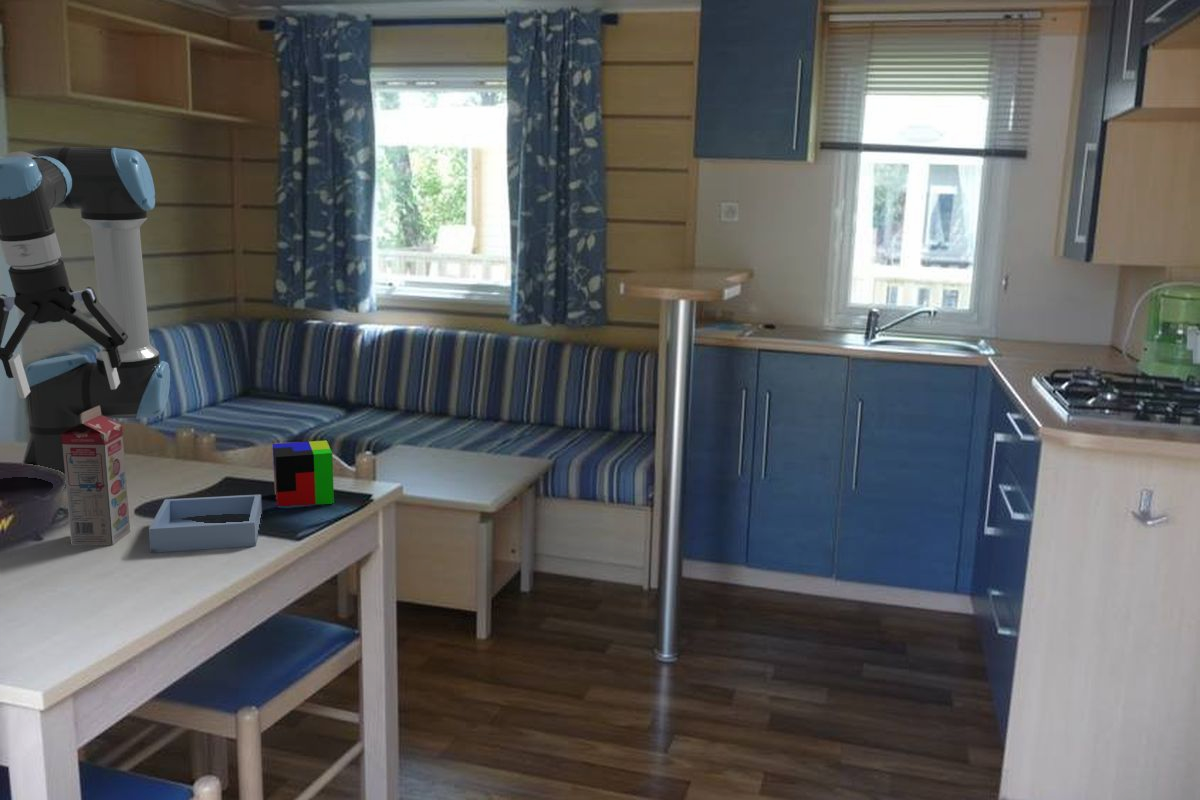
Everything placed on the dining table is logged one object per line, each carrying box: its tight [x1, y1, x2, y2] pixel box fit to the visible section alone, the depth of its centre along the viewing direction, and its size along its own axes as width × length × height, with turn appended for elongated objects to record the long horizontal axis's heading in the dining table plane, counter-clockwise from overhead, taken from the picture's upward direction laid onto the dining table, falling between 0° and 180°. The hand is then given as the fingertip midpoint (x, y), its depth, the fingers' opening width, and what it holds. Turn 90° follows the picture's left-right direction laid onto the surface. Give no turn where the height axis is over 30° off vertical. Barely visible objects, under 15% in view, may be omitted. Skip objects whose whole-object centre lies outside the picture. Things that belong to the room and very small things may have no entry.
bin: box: [148, 494, 263, 554], centre depth 169 cm, size 16×16×4 cm
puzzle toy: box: [272, 439, 335, 507], centre depth 188 cm, size 10×10×10 cm
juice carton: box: [62, 405, 131, 546], centre depth 163 cm, size 7×7×22 cm
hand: (70, 390), depth 159 cm, fingers open, 13 cm apart
